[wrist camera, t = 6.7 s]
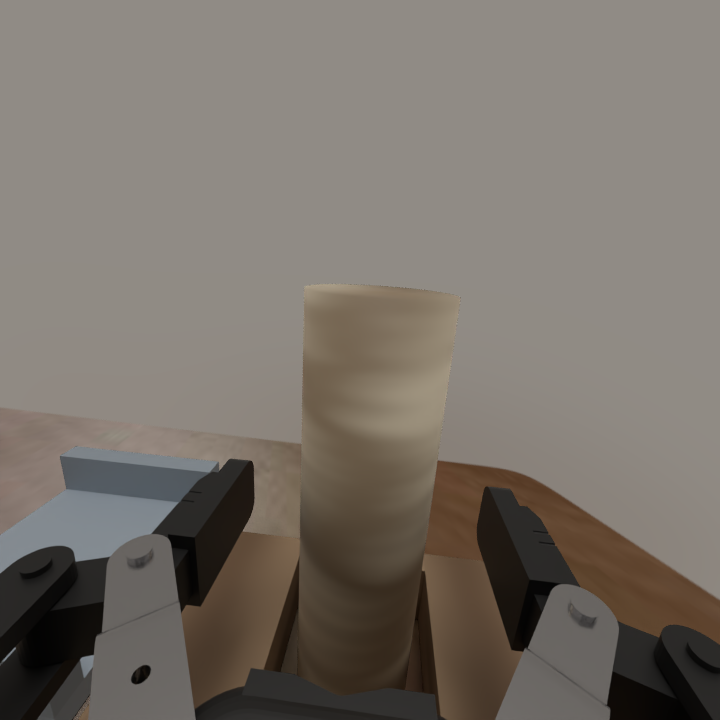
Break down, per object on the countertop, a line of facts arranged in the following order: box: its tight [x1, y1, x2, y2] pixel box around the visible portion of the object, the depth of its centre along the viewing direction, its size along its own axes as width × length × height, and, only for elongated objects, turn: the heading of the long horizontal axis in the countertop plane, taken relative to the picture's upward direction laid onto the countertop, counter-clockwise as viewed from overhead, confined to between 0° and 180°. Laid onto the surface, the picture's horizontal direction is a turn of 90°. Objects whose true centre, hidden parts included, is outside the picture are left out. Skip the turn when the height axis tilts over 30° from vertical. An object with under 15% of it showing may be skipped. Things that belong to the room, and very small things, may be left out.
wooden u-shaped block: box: [78, 532, 523, 720], centre depth 14 cm, size 16×8×3 cm, turn 85°
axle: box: [297, 284, 460, 696], centre depth 12 cm, size 4×4×16 cm
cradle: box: [0, 446, 219, 720], centre depth 18 cm, size 10×12×4 cm
